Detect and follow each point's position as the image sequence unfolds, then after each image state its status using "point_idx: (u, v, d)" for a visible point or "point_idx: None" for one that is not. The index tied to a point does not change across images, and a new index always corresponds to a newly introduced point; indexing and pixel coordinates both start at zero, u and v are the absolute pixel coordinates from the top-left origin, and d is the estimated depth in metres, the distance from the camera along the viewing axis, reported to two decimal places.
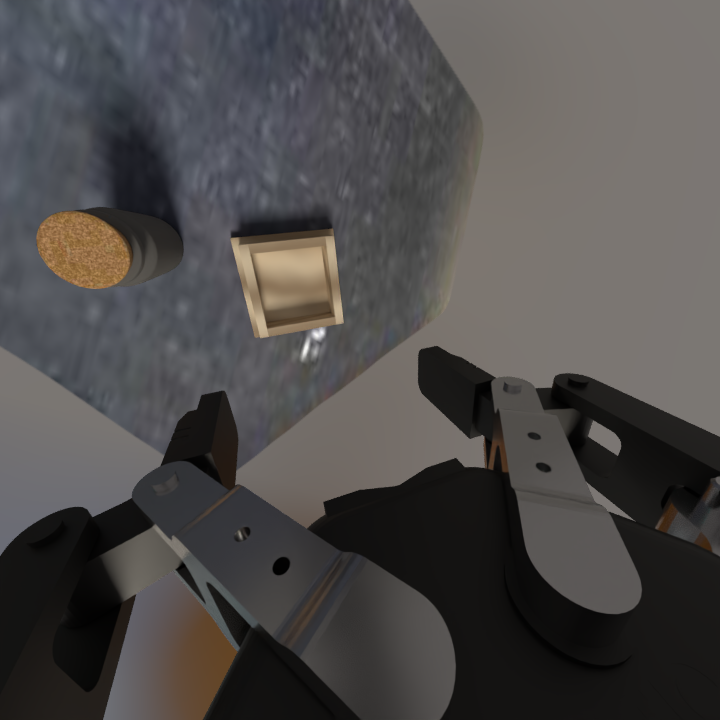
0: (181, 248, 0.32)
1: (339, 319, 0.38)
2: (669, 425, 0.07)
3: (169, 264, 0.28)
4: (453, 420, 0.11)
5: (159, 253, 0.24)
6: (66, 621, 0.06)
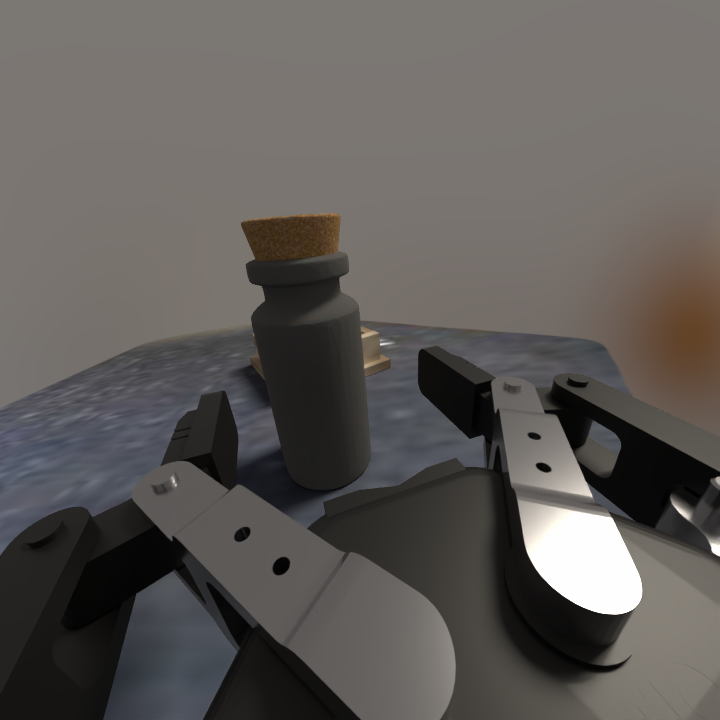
0: None
1: None
2: (668, 425, 0.07)
3: None
4: (453, 420, 0.11)
5: None
6: (66, 621, 0.06)
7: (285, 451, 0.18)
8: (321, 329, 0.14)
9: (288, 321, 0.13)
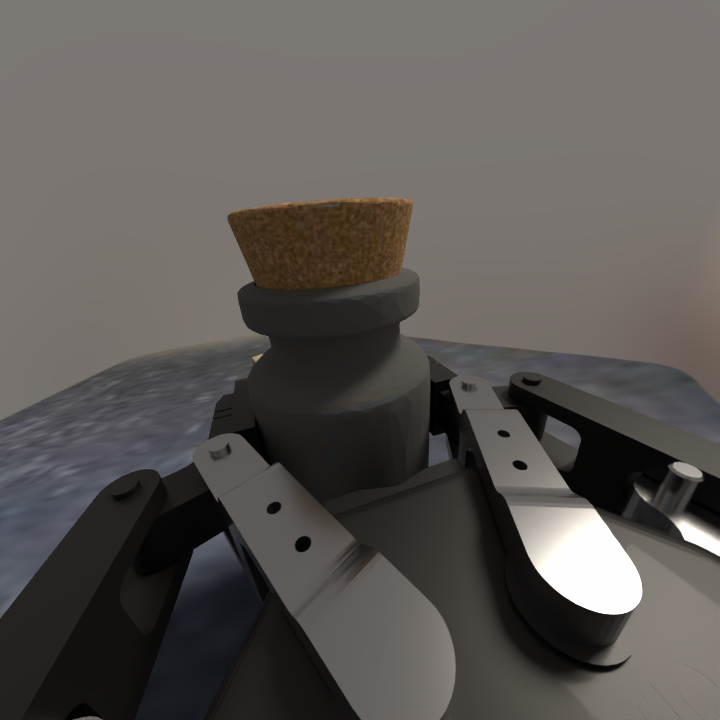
0: None
1: None
2: (618, 415, 0.07)
3: None
4: None
5: None
6: (136, 566, 0.06)
7: None
8: (377, 416, 0.07)
9: (317, 403, 0.07)
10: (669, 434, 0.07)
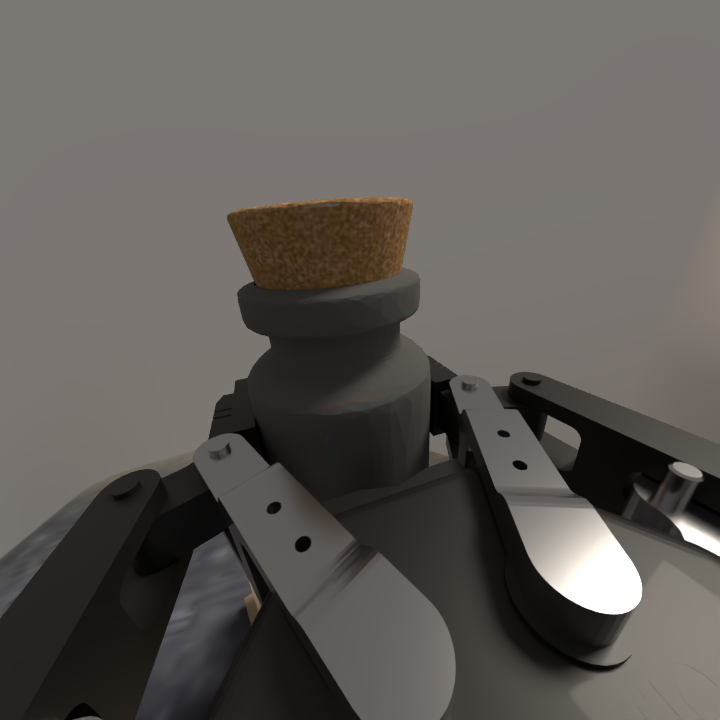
0: None
1: None
2: (618, 415, 0.07)
3: None
4: None
5: None
6: (136, 566, 0.06)
7: None
8: (378, 416, 0.07)
9: (317, 403, 0.07)
10: (669, 434, 0.07)
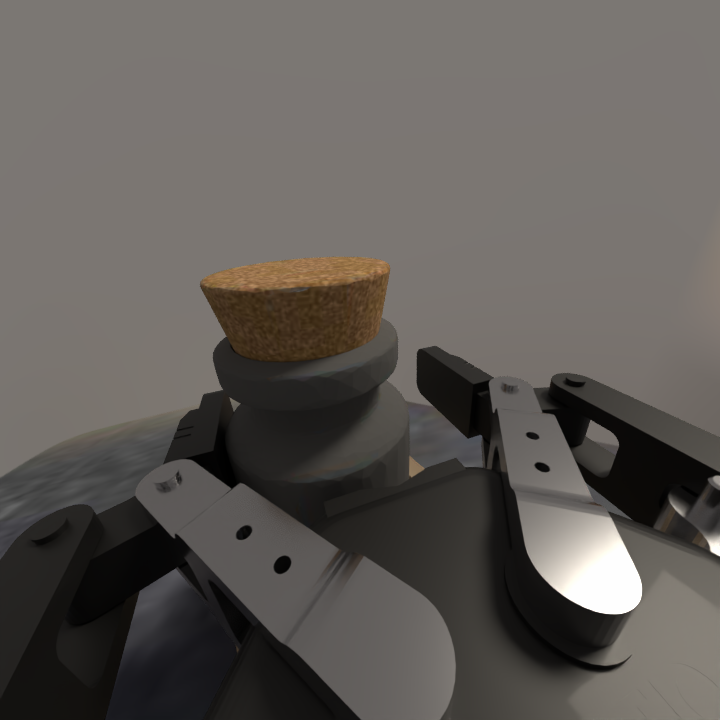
0: None
1: None
2: (665, 424, 0.07)
3: None
4: (451, 420, 0.11)
5: None
6: (70, 617, 0.06)
7: None
8: (350, 481, 0.07)
9: (290, 470, 0.07)
10: None
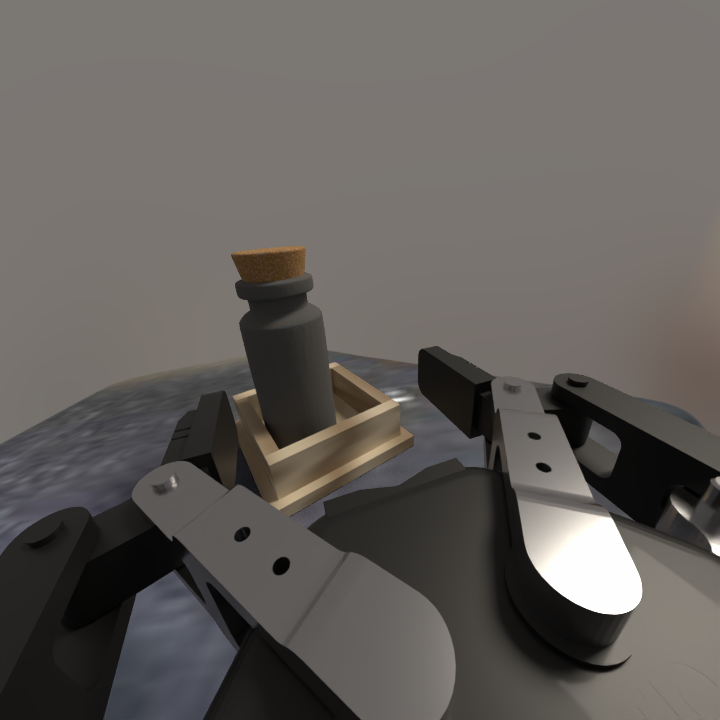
0: None
1: (332, 365, 0.30)
2: (668, 425, 0.07)
3: None
4: (453, 420, 0.11)
5: None
6: (66, 621, 0.06)
7: (266, 425, 0.23)
8: (289, 332, 0.19)
9: (265, 325, 0.19)
10: None
